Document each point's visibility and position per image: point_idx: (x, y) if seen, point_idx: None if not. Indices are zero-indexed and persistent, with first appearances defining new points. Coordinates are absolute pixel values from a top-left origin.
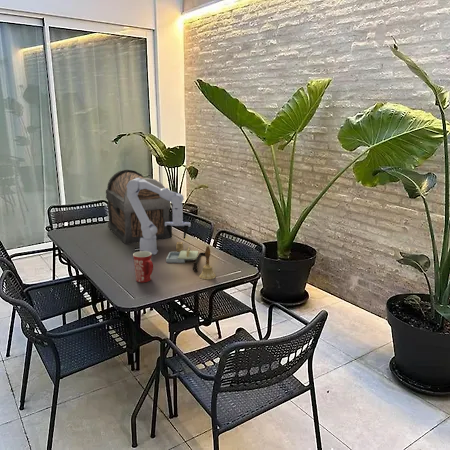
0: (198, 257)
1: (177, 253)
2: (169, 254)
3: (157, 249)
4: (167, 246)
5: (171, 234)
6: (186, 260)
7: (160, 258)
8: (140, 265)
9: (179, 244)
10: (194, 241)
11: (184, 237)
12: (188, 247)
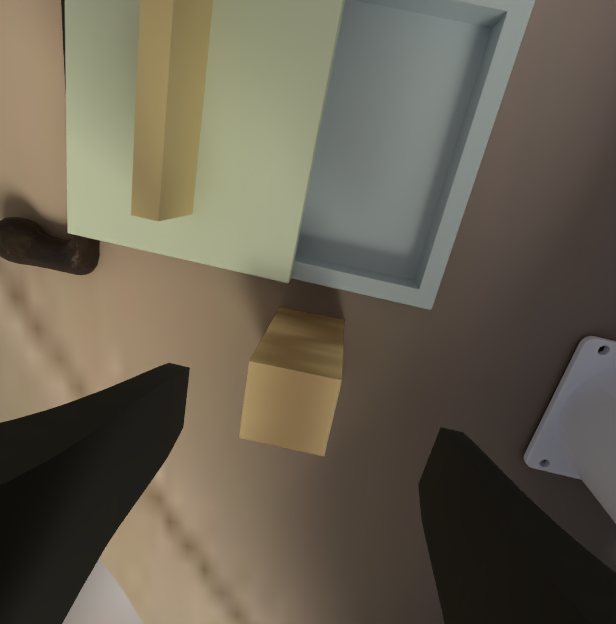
0: (62, 24)
1: (336, 266)
2: (452, 195)
3: (534, 466)
4: (408, 540)
5: (456, 510)
6: None
7: (555, 199)
8: None
9: (294, 363)
10: (164, 600)
11: (159, 370)
12: (154, 186)
